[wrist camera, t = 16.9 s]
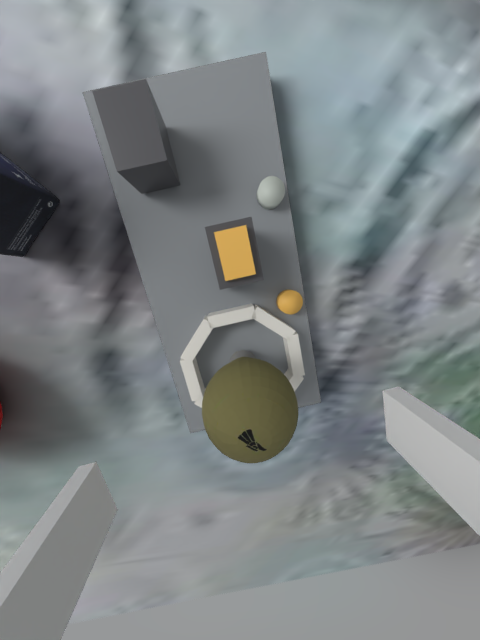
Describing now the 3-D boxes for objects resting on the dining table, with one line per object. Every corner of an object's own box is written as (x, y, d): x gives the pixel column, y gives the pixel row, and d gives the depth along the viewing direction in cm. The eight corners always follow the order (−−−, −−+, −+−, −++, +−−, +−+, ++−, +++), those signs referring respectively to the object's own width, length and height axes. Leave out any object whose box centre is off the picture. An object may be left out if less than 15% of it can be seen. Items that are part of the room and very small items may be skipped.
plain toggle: (141, 194, 17) (116, 171, 13) (123, 133, 16) (91, 90, 12) (180, 185, 17) (167, 160, 13) (165, 124, 16) (146, 78, 12)
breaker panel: (193, 419, 23) (187, 444, 20) (98, 112, 17) (67, 73, 14) (313, 391, 23) (328, 412, 20) (261, 76, 17) (270, 28, 14)
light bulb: (201, 375, 20) (177, 472, 10) (225, 320, 19) (223, 370, 9) (257, 396, 21) (282, 504, 11) (282, 344, 20) (335, 412, 10)
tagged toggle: (221, 286, 18) (219, 290, 14) (209, 236, 18) (203, 225, 13) (256, 278, 18) (265, 280, 14) (246, 228, 18) (252, 214, 13)
